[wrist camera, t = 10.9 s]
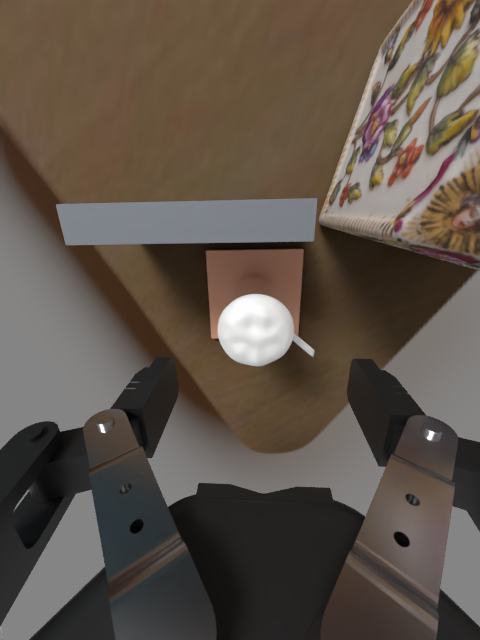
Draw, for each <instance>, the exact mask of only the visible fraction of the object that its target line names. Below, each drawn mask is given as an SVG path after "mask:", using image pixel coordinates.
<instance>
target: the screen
mask: <svg viewBox="0 0 480 640" xmlns="http://www.w3.org/2000/svg"><path fill="white" fill-rule="evenodd" d="M56 207H57V211H58V215H59V219H60V223H61V227H62V231H63V235H64V240H65V243H66V245H108V244H175V243H242V242H308V241H314V233H315V220H316V208H317V198H306V199H262V200H219V201H175V202H132V203H88V204H56Z"/></svg>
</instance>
